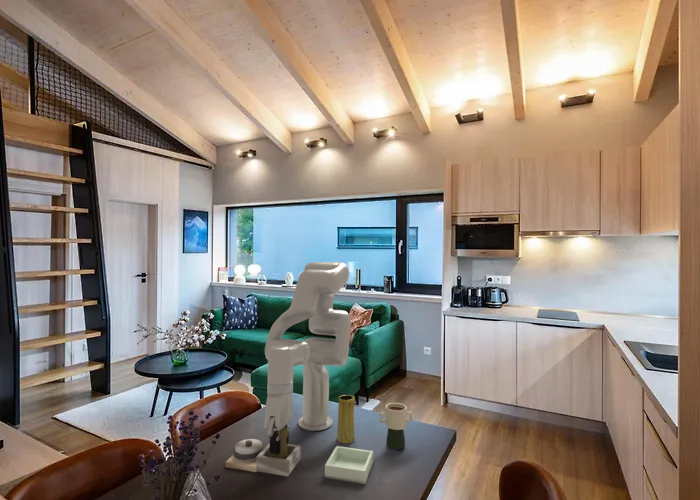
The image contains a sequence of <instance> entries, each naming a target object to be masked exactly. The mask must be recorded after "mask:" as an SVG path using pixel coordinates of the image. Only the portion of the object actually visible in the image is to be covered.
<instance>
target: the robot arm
mask: <svg viewBox="0 0 700 500" xmlns="http://www.w3.org/2000/svg"><path fill="white" fill-rule="evenodd" d="M303 269H304V270H303V271H301V272H300V274H299V276H298V279H297V281H296V284H295V288H294V292H293V294H292V295H293V296H292V300H291V304H290V306H289V308H288V309H287V310H285V312H283V313H282V314H281V315H280V316H279V317H278V318H277V319H276V320H275V321H274V322H273V324H272V326H271V327H270V330H269V333H268V336H267V338H266V343H265V346H264V355H265V359H266V360H267V385H266V386H267V390H266V391H267V393H266V394H267V396H266V397H267V398H266V401H265V412H264V413H265V415H264V429H265V430H266V436H267V437H268V441H269V443H270V453H272V454H278V455H279V454H280V447H281V440H279V438H280V430H281V429H282V428H283V427H286V428H287V429H288V437H287V439H286V440H287V445H288V444H290V442H289V439H290V437H289V435H290V431H289V430H290V423H291V422H290V421H291V420H292V417H293V393H294V367H298V366H301V365H302V371H303V372H302V374H303V376H302V377H303V379H302V416H301V417H300V418H299V419H298V427H300V428H301V429H303V430H306V431H312V432H313V431H314V432H317V431H324V430H326V429H328V428H330V427H331V426H332V425H333V423H334V421H333V419H332V417H331V416H329V409H330V407H329V404H330V403H329V401H330V400H329V399H330V397H329V396H330V395H329V394H330V375H329V371H328V370H327V368H326V366H329V367H330V366H331V367H343V366H345V365H346V364H347V361H348V358H349V350H350V339H351V326H352V322H351V321H352V320H351V316H350V314H349V313H348V311H346V310H342V309H334V299H335V298H334V297H335V296H334V294H335V295H336V294H337V293H338V292H339V291H340V290H341V289H342V288H343V287H344V286H345V285H346V283H348V280H349V276H350V270H349V267H348V265H347V264H346V263H344V262H336V261H329V262H327V261H311V262H309V263H307V264H305V265H304V268H303ZM306 320H308V329H309V331H310V332H311V333H312V334H316V335H325V336H335V338H324V337H309V338H307V339H305V340H298V339H289V338H282V337H283V335H284V333H285V332H286V331H287V330H288V329H289V328H290V327H292V326H294V325H296V324H298V323H302V322H303V321H306ZM274 427H277V429H275V428H274ZM273 431H276V432H277V436H276V434H274V433H273Z"/></svg>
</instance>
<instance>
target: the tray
mask: <svg viewBox="0 0 700 500" xmlns="http://www.w3.org/2000/svg"><path fill="white" fill-rule="evenodd" d="M373 464H374V450H370V449H369V450H367V449H362V448H361V449H360V448H354V447H348V446H347V447H346V446H339V445H336V446H335V448H334V449H333V451H332V453H331V454H330V456H329V457H328V460H327V461H326V463H325V465H324V478H325V479H331V480H338V481H342V482H343V481H344V482H351V483H354V484H355V483H356V484H361V485H362V484H363V485H366V484H367V480H368V477H369V475H370V472H371V470H372V467H373Z"/></svg>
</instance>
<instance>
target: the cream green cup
mask: <svg viewBox="0 0 700 500" xmlns="http://www.w3.org/2000/svg"><path fill="white" fill-rule="evenodd" d="M384 416H385V419H383V418H384ZM408 416H409V418H408ZM412 421H413V412H412V411H408V408H407V406H406V405H405V404H403V403H401V402H389V403H387V404H386V405H385V411H384V412H383V411H382V412H379V422H380V423H385V425H386V428H387V432H386V433H387V434H386V443H385V444H386V445H387V447H389V448H391V449H395V450H401V449H403V448H404V447H405V446H406V439H405V430H404V429H406V428H407V425H408V423H410V422H411V423H412Z"/></svg>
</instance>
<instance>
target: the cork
mask: <svg viewBox="0 0 700 500" xmlns="http://www.w3.org/2000/svg"><path fill="white" fill-rule="evenodd" d="M274 428H275V429H277V427H274ZM273 433H274V434H276V436H277V432H276V431H273ZM287 437H288V429H287V428H286V427H283V428H282V429H281V430H280V438H279V440H281V447H280V454H279V455H278V454H272V453H270V457H273V458H280V459H287V457H288V449H287V440H286V439H287Z"/></svg>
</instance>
